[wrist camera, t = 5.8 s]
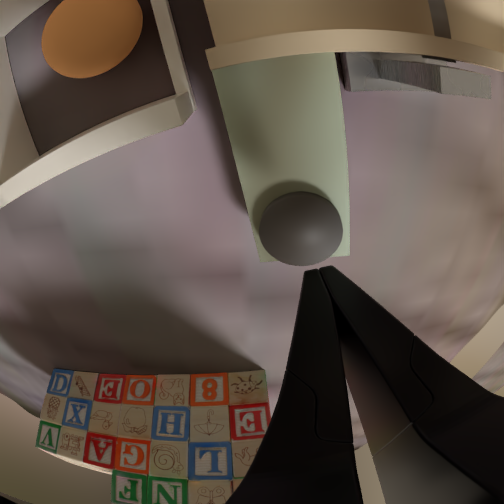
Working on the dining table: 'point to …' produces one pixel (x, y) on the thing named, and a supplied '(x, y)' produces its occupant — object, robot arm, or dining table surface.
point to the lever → (319, 100)
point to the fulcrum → (410, 74)
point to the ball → (90, 35)
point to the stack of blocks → (158, 431)
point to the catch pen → (94, 139)
